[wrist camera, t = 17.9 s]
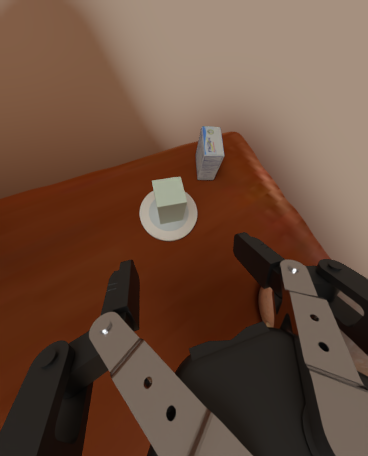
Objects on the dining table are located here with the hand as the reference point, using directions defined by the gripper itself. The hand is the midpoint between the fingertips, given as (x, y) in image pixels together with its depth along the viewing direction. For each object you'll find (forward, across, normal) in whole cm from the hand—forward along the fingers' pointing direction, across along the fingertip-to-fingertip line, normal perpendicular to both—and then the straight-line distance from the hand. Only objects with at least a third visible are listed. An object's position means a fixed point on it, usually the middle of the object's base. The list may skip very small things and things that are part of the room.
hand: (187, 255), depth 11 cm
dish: (+23, -1, +6) cm, 24 cm away
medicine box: (+31, -14, -1) cm, 34 cm away
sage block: (+22, -1, +6) cm, 23 cm away
